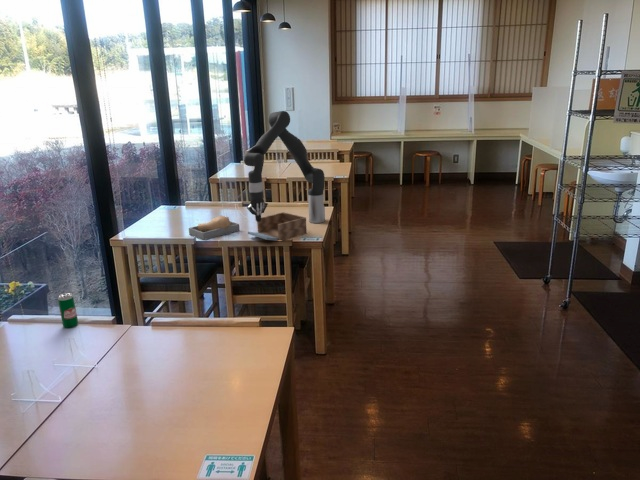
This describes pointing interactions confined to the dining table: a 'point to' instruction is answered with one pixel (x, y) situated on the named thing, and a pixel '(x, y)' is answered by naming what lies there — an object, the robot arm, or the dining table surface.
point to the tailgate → (262, 236)
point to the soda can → (67, 310)
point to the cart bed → (282, 226)
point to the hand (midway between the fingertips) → (258, 221)
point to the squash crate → (213, 231)
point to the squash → (215, 224)
